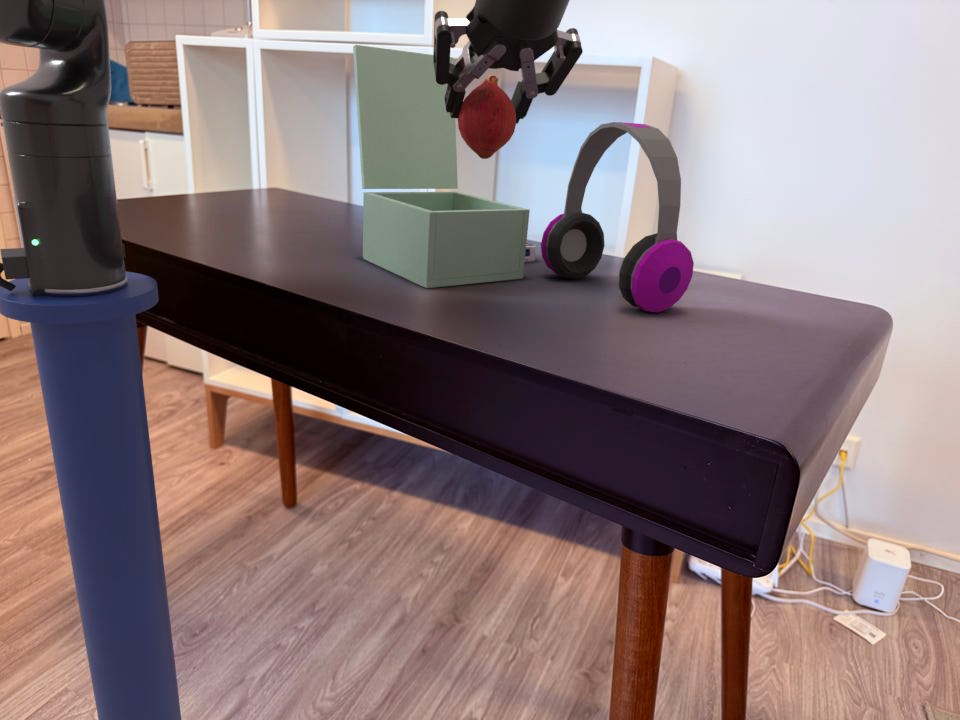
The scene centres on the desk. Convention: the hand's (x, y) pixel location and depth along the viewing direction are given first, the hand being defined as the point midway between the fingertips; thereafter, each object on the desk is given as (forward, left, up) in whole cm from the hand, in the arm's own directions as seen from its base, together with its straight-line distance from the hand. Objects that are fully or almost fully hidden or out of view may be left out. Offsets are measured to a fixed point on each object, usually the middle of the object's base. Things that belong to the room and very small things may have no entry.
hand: (483, 114), depth 68 cm
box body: (+5, +15, -20) cm, 25 cm away
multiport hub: (+19, +20, -20) cm, 34 cm away
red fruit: (-1, -2, -4) cm, 5 cm away
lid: (+5, +24, -2) cm, 25 cm away
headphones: (+18, -3, -20) cm, 27 cm away
